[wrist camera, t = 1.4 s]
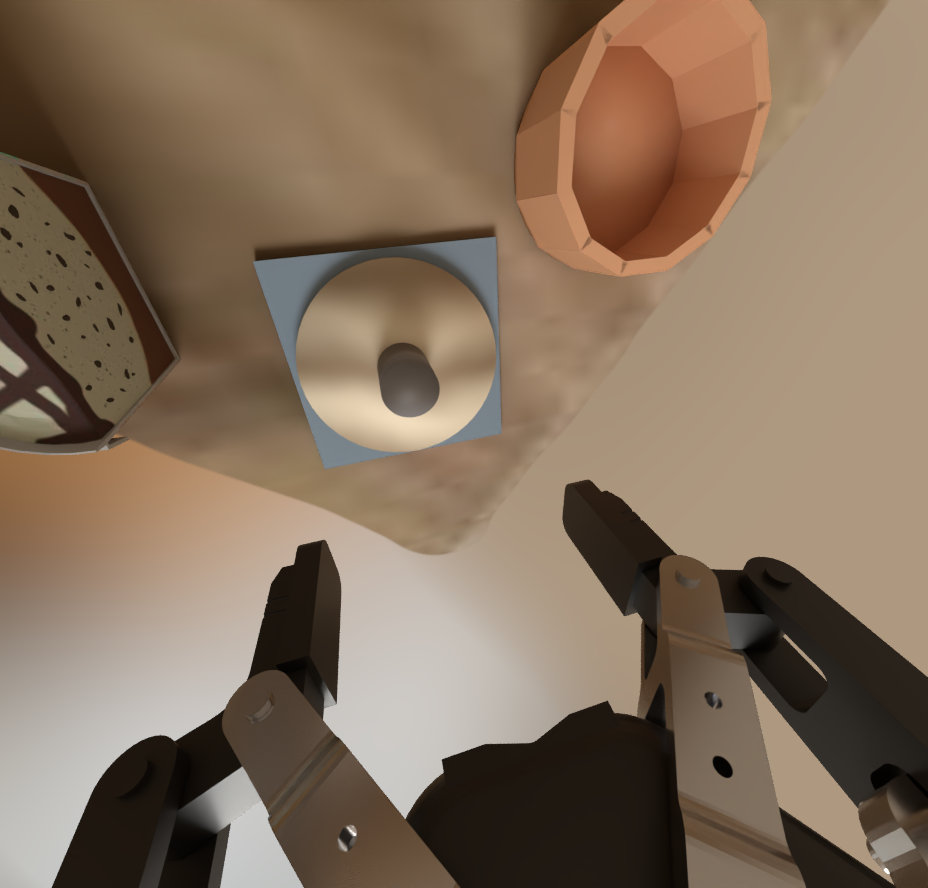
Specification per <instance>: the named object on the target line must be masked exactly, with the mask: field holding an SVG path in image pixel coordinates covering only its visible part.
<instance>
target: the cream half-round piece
mask: <svg viewBox="0 0 928 888" xmlns="http://www.w3.org/2000/svg"><path fill="white" fill-rule="evenodd" d="M179 361H180V358H179V356H178V354H177V352H176V350H175V349H174V347H173V345H172V343H171V341H170V339H169V337H168V335H167V333H166V331H165V329H164V328H163V326H162V324H161V322H160V320H159V318H158V316H157V314H156V312H155V310H154V308H153V306H152V305H151V303H150V301H149V299H148V297H147V295H146V293H145V291H144V289H143V287H142V285H141V284H140V282H139V280H138V278H137V276H136V274H135V272H134V270H133V268H132V266H131V264H130V262H129V261H128V259H127V257H126V255H125V253H124V251H123V249H122V247H121V245H120V243H119V241H118V240H117V238H116V236H115V234H114V232H113V230H112V228H111V226H110V224H109V222H108V220H107V218H106V217H105V215H104V213H103V211H102V209H101V207H100V205H99V203H98V201H97V199H96V197H95V196H94V194H93V192H92V190H91V188H90V186H89V184H88V182H85V181H83V180H80V179H77V178H74V177H71V176H68V175H65V174H63V173H60V172H57V171H54V170H51V169H48V168H45V167H43V166H40V165H37V164H34V163H31V162H28V161H25V160H23V159H20V158H17V157H14V156H11V155H8V154H5V153H3V152H0V449H2V450H8V451H13V452H20V453H32V454H42V455H76V454H84V453H93V452H97V451H100V450H108V449H111V448H113V447H115V446H117V445H119V444H121V443H123V442H125V441H127V440H129V438H128V437H120V438H112V437H113V436H114V435H115V434H116V433H117V432H118V431H119V429H120V428H121V427H122V426H123V425H124V424H125V423H126V422H127V420H128V419H129V418H130V417H131V416H132V415H133V414H134V412H135V411H136V410H137V409H138V408H139V407H140V406H141V405H142V403H143V402H144V401H145V400H146V399H147V398H148V397H149V395H150V394H151V393H152V392H153V391H154V390H155V389H156V388H157V386H158V385H159V384H160V383H161V382H162V381H163V380H164V378H165V377H166V376H167V375H168V374H169V373H170V372H171V371H172V369H173V368H174V367H175V366H176V365H177V364H178V363H179Z"/></svg>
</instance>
